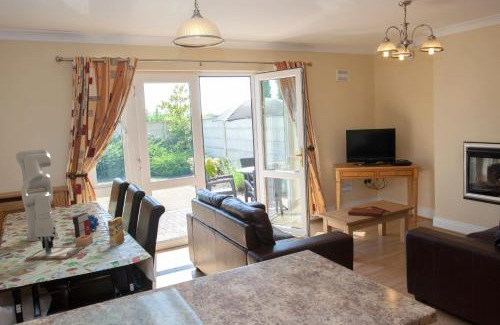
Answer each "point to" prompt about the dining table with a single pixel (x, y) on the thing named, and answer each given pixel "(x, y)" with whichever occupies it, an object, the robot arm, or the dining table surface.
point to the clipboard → (55, 253)
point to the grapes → (92, 222)
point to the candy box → (116, 231)
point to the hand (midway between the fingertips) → (48, 247)
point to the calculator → (81, 225)
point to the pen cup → (84, 240)
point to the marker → (47, 246)
